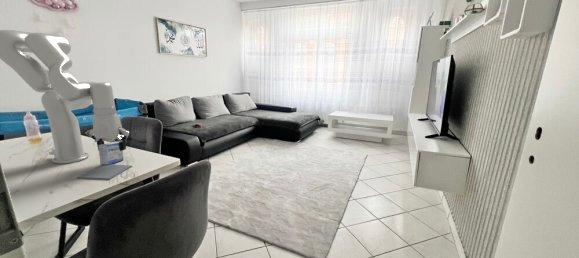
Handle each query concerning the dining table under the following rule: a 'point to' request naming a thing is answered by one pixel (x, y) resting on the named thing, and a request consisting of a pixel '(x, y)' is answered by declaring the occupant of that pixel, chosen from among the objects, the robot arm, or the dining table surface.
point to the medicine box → (110, 153)
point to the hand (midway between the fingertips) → (112, 150)
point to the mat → (104, 172)
